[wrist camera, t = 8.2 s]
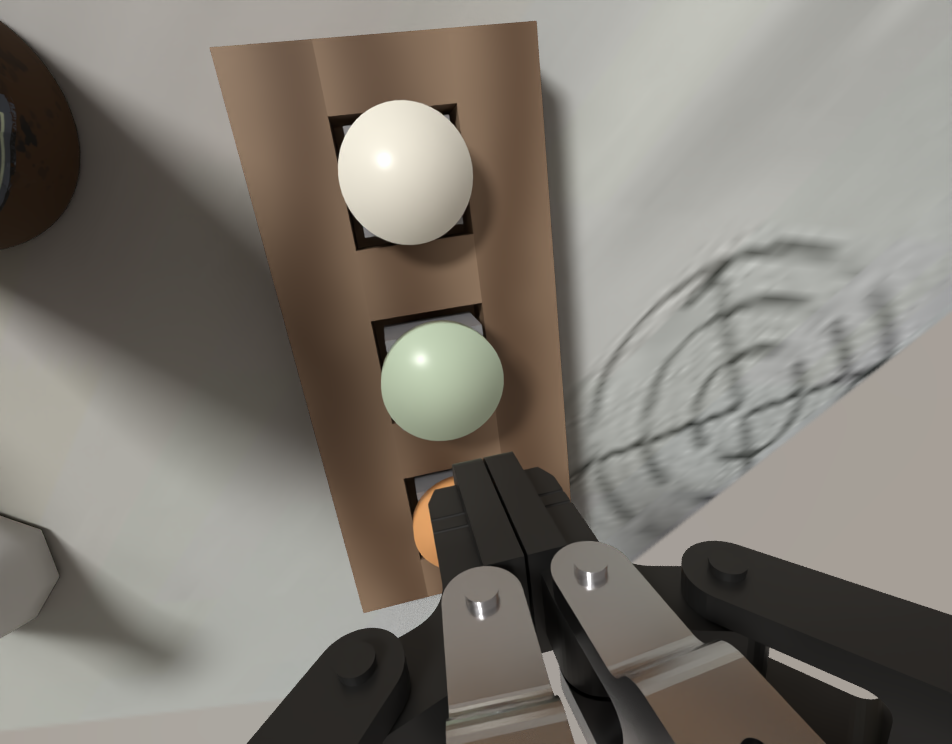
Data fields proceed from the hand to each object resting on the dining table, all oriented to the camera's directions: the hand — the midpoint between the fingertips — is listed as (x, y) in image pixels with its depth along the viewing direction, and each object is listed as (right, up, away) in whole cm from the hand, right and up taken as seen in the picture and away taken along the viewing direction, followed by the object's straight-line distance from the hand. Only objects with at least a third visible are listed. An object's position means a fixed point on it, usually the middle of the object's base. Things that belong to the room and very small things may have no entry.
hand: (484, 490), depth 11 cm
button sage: (-2, +4, +11) cm, 12 cm away
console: (-3, +4, +13) cm, 14 cm away
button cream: (-4, +11, +10) cm, 15 cm away
